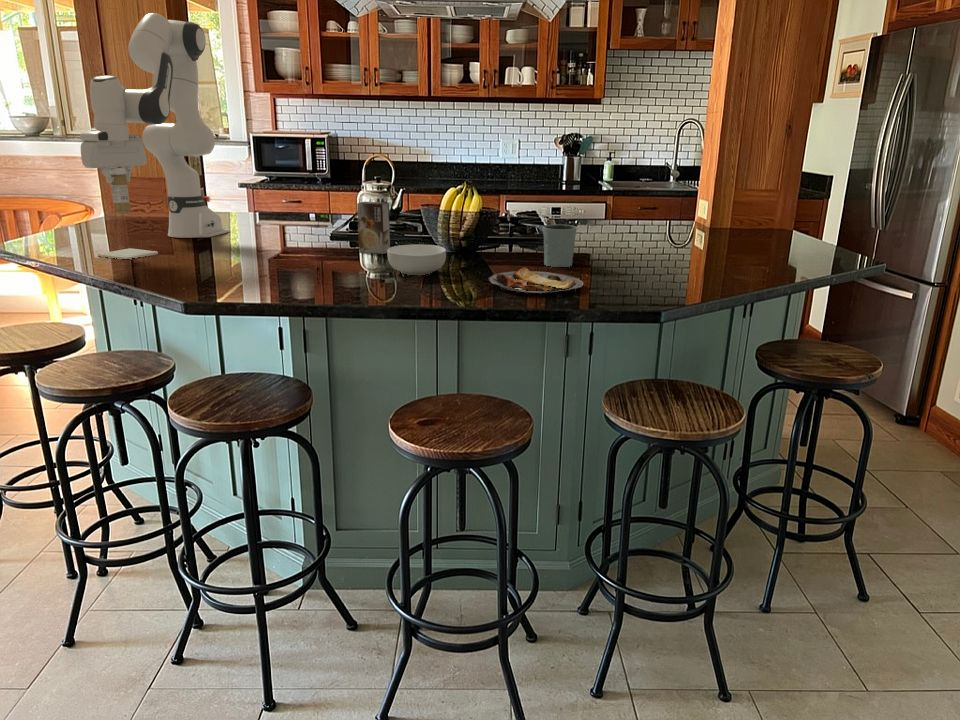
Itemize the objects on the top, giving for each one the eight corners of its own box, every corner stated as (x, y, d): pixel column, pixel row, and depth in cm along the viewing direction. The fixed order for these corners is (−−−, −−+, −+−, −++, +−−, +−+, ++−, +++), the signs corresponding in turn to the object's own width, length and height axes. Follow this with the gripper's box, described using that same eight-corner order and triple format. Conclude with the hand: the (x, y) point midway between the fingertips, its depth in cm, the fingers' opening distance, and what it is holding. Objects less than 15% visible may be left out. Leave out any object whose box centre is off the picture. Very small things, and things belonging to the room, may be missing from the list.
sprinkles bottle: (128, 211, 222) (122, 167, 218) (133, 213, 219) (126, 167, 215) (112, 212, 220) (106, 167, 215) (116, 214, 216) (110, 168, 212)
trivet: (130, 250, 231) (129, 248, 231) (158, 254, 226) (157, 251, 226) (97, 256, 220) (97, 253, 220) (126, 260, 216) (125, 257, 216)
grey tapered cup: (576, 263, 226) (578, 225, 222) (571, 269, 216) (574, 229, 213) (544, 261, 228) (546, 223, 224) (538, 267, 219) (540, 227, 215)
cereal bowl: (381, 269, 211) (381, 245, 209) (435, 266, 217) (435, 243, 215) (396, 281, 196) (395, 255, 194) (453, 278, 202) (454, 252, 200)
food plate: (471, 284, 193) (472, 271, 192) (529, 274, 209) (529, 262, 208) (541, 304, 177) (542, 290, 176) (598, 292, 193) (599, 279, 191)
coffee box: (391, 251, 240) (390, 202, 235) (384, 254, 234) (383, 204, 229) (365, 249, 242) (364, 201, 237) (358, 252, 236) (356, 203, 231)
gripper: (133, 133, 222) (139, 179, 227) (74, 134, 205) (81, 184, 209) (148, 134, 220) (154, 180, 224) (89, 135, 202) (97, 185, 207)
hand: (118, 182), depth 217 cm, fingers closed on sprinkles bottle, 4 cm apart
